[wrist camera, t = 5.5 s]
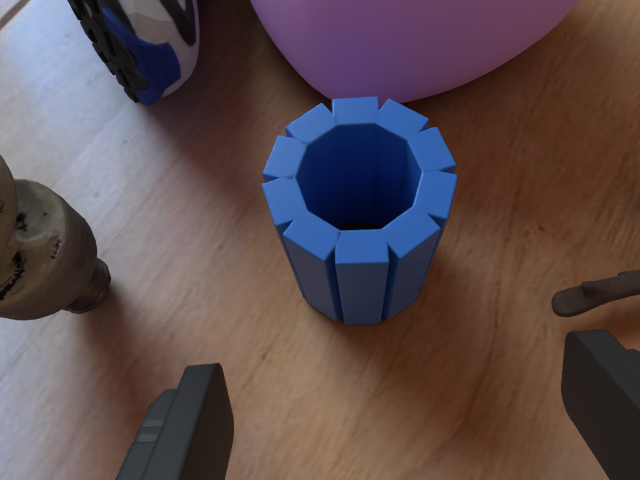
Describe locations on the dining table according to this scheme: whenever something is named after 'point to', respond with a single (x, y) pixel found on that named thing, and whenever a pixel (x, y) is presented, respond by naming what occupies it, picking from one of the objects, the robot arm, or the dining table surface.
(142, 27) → the athletic shoe
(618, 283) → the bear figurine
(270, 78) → the dining table surface
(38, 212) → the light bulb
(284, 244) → the blue notched tube
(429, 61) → the teapot
